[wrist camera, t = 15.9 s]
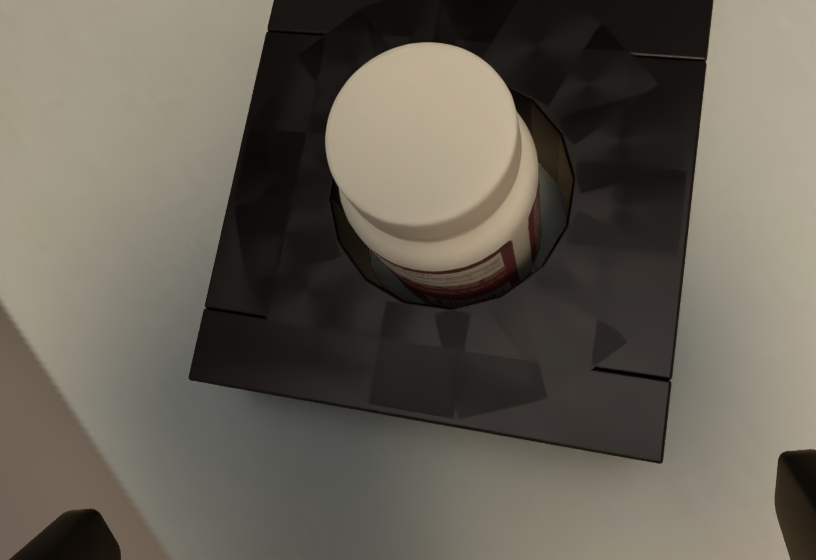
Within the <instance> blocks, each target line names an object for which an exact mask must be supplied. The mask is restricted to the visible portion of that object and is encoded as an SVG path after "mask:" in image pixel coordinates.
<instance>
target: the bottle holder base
mask: <svg viewBox="0 0 816 560" xmlns="http://www.w3.org/2000/svg"><path fill="white" fill-rule="evenodd" d="M712 9H713V0H274V2H273V6H272V11H271V15H270V20H269V24H268V32H267V33H266V36H265V41H264V45H263V50H262V54H261V59H260V63H259V68H258V72H257V76H256V81H255V85H254V90H253V94H252V99H251V103H250V107H249V112H248V116H247V121H246V125H245V130H244V134H243V138H242V143H241V147H240V152H239V156H238V161H237V165H236V169H235V174H234V178H233V183H232V187H231V192H230V196H229V200H228V205H227V209H226V214H225V218H224V223H223V227H222V231H221V236H220V240H219V245H218V249H217V254H216V258H215V262H214V267H213V271H212V276H211V280H210V285H209V289H208V294H207V298H206V302H205V308H207V309H204V311H203V315H202V320H201V324H200V329H199V333H198V338H197V342H196V346H195V351H194V355H193V360H192V364H191V369H190V373H189V380H191V381H197V382H203V383H208V384H214V385H219V386H225V387H231V388H236V389H242V390H248V391H253V392H259V393H264V394H270V395H276V396H281V397H287V398H293V399H298V400H304V401H309V402H315V403H321V404H326V405H332V406H338V407H343V408H349V409H354V410H360V411H366V412H371V413H377V414H383V415H388V416H394V417H399V418H405V419H411V420H416V421H422V422H428V423H433V424H439V425H444V426H450V427H456V428H461V429H467V430H473V431H478V432H484V433H489V434H495V435H501V436H506V437H512V438H518V439H523V440H529V441H534V442H540V443H546V444H551V445H557V446H563V447H568V448H574V449H579V450H585V451H591V452H596V453H602V454H608V455H613V456H619V457H624V458H630V459H636V460H641V461H647V462H653V463H658V464H660V463H662V462H663V457H664V447H665V438H666V429H667V420H668V411H669V402H670V393H671V381H669V380H671V379H672V375H673V366H674V356H675V347H676V338H677V329H678V320H679V311H680V302H681V293H682V283H683V274H684V265H685V256H686V247H687V238H688V229H689V220H690V210H691V201H692V192H693V183H694V174H695V165H696V156H697V147H698V137H699V128H700V119H701V110H702V101H703V92H704V83H705V74H706V60H707V54H708V45H709V36H710V27H711V18H712ZM423 42H433V43H443V44H448V45H453V46H456V47H459V48H462V49H465V50H467V51H469V52H471V53H473V54H475V55H477V56H478V57H480V58H481V59H482V60H484V61H485V62H486V63H488V64H489V65H490V66H491V67H492V68H493V69H494V70H495V71H496V72H497V73H498V75H499V76H500V77H501V78H502V80H503V81H504V83H505V84H506V86H507V88H508V89H509V91H510V92H511V95H512V98H513V101H514V104H515V108H516V111H517V112H518V114H519V115H520V116H521V118H522V119H523V121H524V122H525V124H526V126H527V128H528V130H529V132H530V134H531V136H532V138H533V141H534V143H535V148H536V152H537V158H538V161H539V162H540V164H541V165H542V166H543V167H544V168H545V170H546V171H547V172H548V173H549V174H550V176H551V177H552V178H553V179H554V181H555V182H556V183H557V184H558V187H559V191H560V194H561V198H562V201H563V205H564V208H565V212H566V215H567V222H566V226H565V228H564V229H563V231H562V233H561V234H560V236H559V238H558V239H557V241H556V243H555V244H554V246H553V247H552V249H551V251H550V252H549V254H548V256H547V257H546V259H545V261H544V262H543V264H542V265H541V267H539V268H538V269H537V270H535V271H534V272H532V273H531V274H530V275H528V276H527V277H526V278H524V279H523V280H522V281H520V282H519V283H517V284H516V285H515V286H513V287H512V288H511V289H509V290H508V291H506V292H505V293H504V294H502V295H501V296H498V297H494V298H490V299H486V300H482V301H478V302H474V303H470V304H466V305H462V306H458V307H454V308H450V307H443V306H436V305H429V304H422V303H415V302H408V301H404V300H403V299H401V298H399V297H398V296H396V295H394V294H393V293H391V292H389V291H388V290H386V289H384V288H383V286H382V285H381V283H380V282H379V280H378V279H377V278H376V276H375V275H374V273H373V271H372V266H371V262H370V257H369V252H368V248H367V245H366V244H365V243H364V242H363V241H362V240H361V239H360V237H359V236H358V235H357V233H356V232H355V231H354V229H353V228H352V226H351V225H350V223H349V222H348V219H347V217H346V215H345V212H344V209H343V206H342V203H341V200H340V193H339V187H338V185H337V184H336V182H335V180H334V178H333V176H332V174H331V171H330V168H329V164H328V160H327V155H326V147H325V136H326V127H327V122H328V117H329V114H330V111H331V108H332V106H333V104H334V101H335V99H336V97H337V95H338V94H339V92H340V90H341V89H342V87H343V86H344V85H345V83H346V82H347V81H348V79H349V78H350V77H351V76H352V75H353V74H354V73H355V72H356V71H357V70H358V69H359V68H361V67H362V66H363V65H364V64H366V63H367V62H368V61H370V60H371V59H373V58H375V57H376V56H378V55H380V54H382V53H384V52H386V51H388V50H391V49H393V48H396V47H400V46H403V45H407V44H412V43H423Z"/></svg>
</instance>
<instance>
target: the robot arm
mask: <svg viewBox="0 0 816 560" xmlns="http://www.w3.org/2000/svg"><path fill="white" fill-rule="evenodd" d="M775 509H776V514H777V518H778V521H779V524H780V528H781V531H782V534H783V537H784V540H785V544H786V547H787V550H788V553H789V556H790V559H791V560H816V450H813V449H809V450H797V451H786V452H783V453H782V454H781V455H780V457H779V459H778V467H777V477H776V488H775ZM9 560H121V552H120V547H119V545H118V543H117V541H116V539H115V538H114V536H113V534H112V532H111V531H110V529H109V528H108V526H107V524H106V522H105V521H104V519H103V517H102V516H101V514H100V513H99V512H98V511H96V510H95V509H81V510H70V511H67V512H65V513H63V514H62V515H61V516H59V517H58V518H57V519H56V520H55V521H53V522H52V523H51V524H50V525H49V526H48V527H46V528H45V529H44V530H43V531H42V532H41V533H39V534H38V535H37V536H36V537H35V538H34V539H33V540H31V541H30V542H29V543H28V544H27V545H26V546H25V547H23V548H22V549H21V550H20V551H19V552H17V553H16V554H15V555H14V556H13V557H12V558H10V559H9Z"/></svg>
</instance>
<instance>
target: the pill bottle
mask: <svg viewBox="0 0 816 560" xmlns="http://www.w3.org/2000/svg"><path fill="white" fill-rule="evenodd" d="M325 147H326V155H327V160H328V164H329V168H330V171H331V174H332V176H333V178H334V180H335V182H336V184H337V185H338V187H339V193H340V200H341V203H342V206H343V209H344V212H345V215H346V217H347V219H348V222H349V223H350V225H351V226H352V228H353V229H354V231H355V232H356V233H357V235H358V236H359V237H360V239H361V240H362V241H363V242H364V243H365V244H366V245H367V246H368V247H369V249H370V250H371V251H372V252H373V253H374V254H375V255H376V256H377V257H378V258H379V259H380V260H381V261H382V262H383V263H384V264H385V265H386V266H387V267H388V268H389V269H390V271H391V272H392V273H393V274H394V275H395V276H396V277H397V278H398V279H399V280H400V281H401V282H402V283H403V284H404V285H405V286H406V287H407V288H408V289H409V290H410V291H411V292H412V293H414V294H415V295H416V296H417V297H419V298H420V299H422V300H424V301H425V302H427V303H429V304H431V305H436V306H443V307H450V308H454V307H458V306H462V305H466V304H470V303H474V302H478V301H482V300H486V299H490V298H494V297H498V296H501V295H502V294H504V293H505V292H506V291H508V290H509V289H511V288H512V287H513V286H515V285H516V284H517V283H519V282H520V281H522V280H523V279H524V278H526V277H527V276H528V274H529V273H530V271H531V269H532V267H533V265H534V263H535V260H536V257H537V254H538V251H539V245H540V237H541V222H540V203H539V202H540V198H539V169H538V158H537V152H536V148H535V143H534V141H533V138H532V136H531V134H530V132H529V130H528V128H527V126H526V124H525V122H524V121H523V119H522V118H521V116H520V115H519V114H518V112H517V111H516V108H515V104H514V101H513V98H512V95H511V92H510V91H509V89H508V88H507V86H506V84H505V83H504V81H503V80H502V78H501V77H500V76H499V75H498V73H497V72H496V71H495V70H494V69H493V68H492V67H491V66H490V65H489V64H488V63H486V62H485V61H484V60H482V59H481V58H480V57H478V56H477V55H475V54H473V53H471V52H469V51H467V50H465V49H462V48H459V47H456V46H453V45H448V44H443V43H433V42H423V43H412V44H407V45H403V46H400V47H396V48H393V49H391V50H388V51H386V52H384V53H382V54H380V55H378V56H376V57H375V58H373V59H371V60H370V61H368V62H367V63H366V64H364V65H363V66H362V67H361V68H359V69H358V70H357V71H356V72H355V73H354V74H353V75H352V76H351V77H350V78H349V79H348V81H347V82H346V83H345V85H344V86H343V87H342V89H341V90H340V92H339V94H338V95H337V97H336V99H335V101H334V104H333V106H332V108H331V111H330V114H329V117H328V122H327V127H326V136H325Z"/></svg>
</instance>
